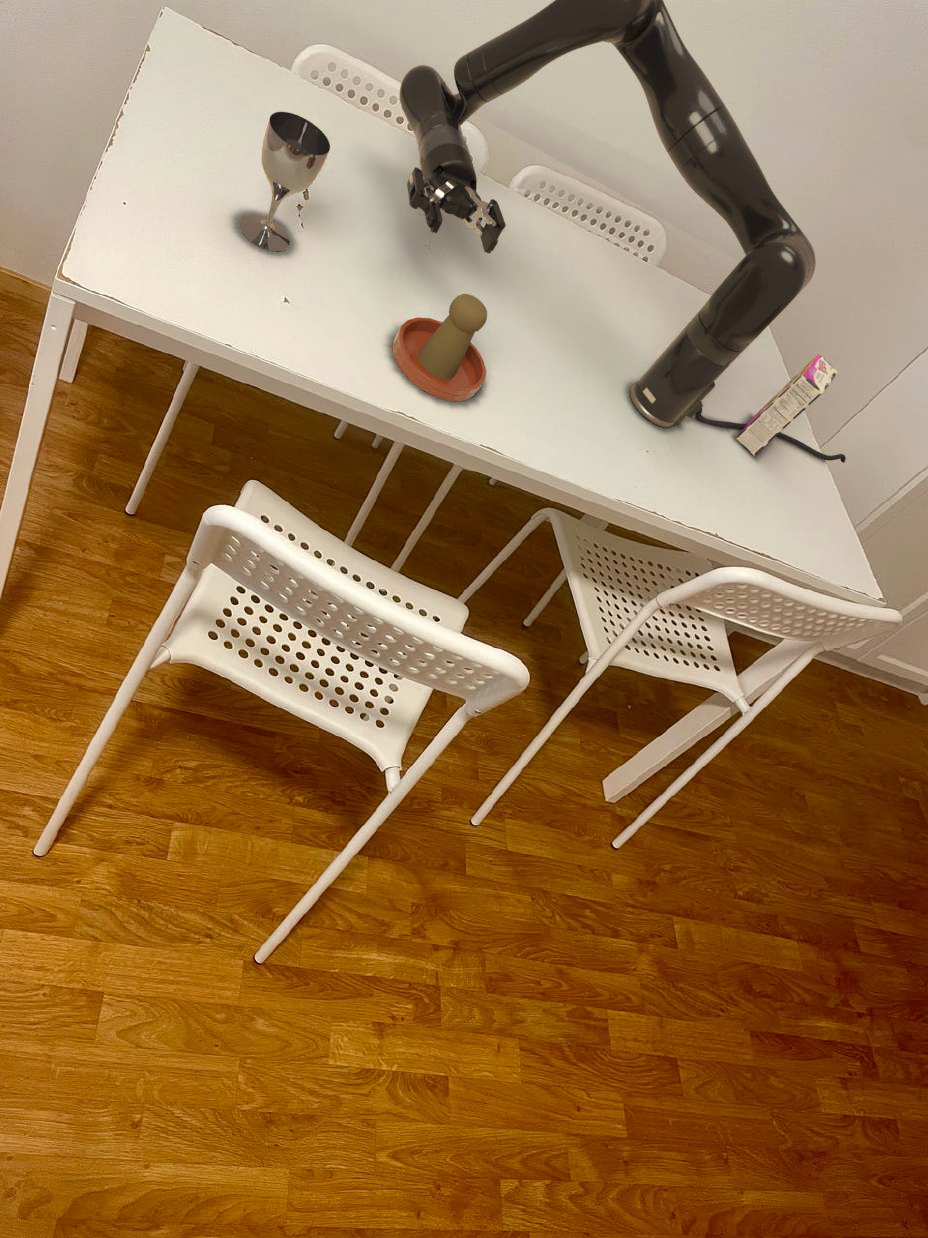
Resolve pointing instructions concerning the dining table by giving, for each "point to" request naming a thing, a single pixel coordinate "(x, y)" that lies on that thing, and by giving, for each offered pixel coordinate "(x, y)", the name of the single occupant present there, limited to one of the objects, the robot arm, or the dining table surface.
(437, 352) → the brown game pawn
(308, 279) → the dining table surface
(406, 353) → the dish
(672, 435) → the dining table surface
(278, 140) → the silver goblet
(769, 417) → the candy bar box
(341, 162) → the dining table surface
